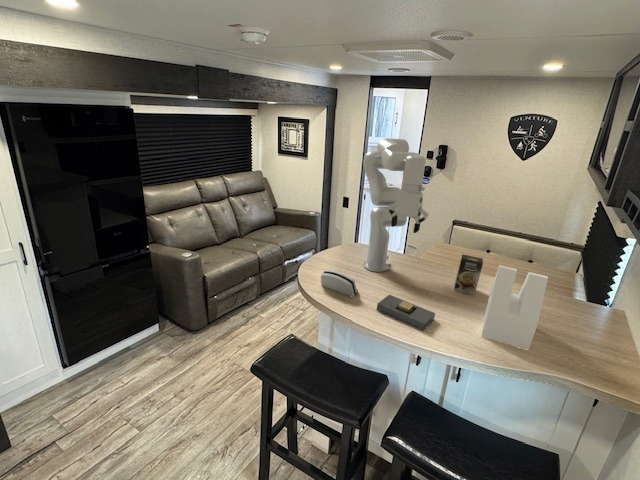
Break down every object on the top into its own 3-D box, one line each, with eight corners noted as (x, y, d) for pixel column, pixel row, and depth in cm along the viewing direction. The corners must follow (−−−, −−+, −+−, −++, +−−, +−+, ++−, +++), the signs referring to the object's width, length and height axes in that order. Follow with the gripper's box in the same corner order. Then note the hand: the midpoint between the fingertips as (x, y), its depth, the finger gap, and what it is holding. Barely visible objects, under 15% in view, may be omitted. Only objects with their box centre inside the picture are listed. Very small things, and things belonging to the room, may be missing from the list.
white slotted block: (484, 312, 145) (500, 257, 136) (526, 324, 139) (545, 267, 130) (481, 336, 129) (498, 276, 120) (528, 351, 123) (549, 288, 114)
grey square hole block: (388, 300, 149) (389, 294, 147) (433, 319, 137) (435, 313, 136) (376, 310, 141) (377, 303, 140) (423, 330, 130) (424, 324, 129)
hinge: (358, 292, 154) (357, 276, 147) (353, 299, 151) (352, 283, 144) (326, 280, 162) (324, 264, 156) (321, 287, 159) (318, 271, 153)
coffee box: (453, 290, 161) (461, 258, 155) (454, 284, 166) (461, 253, 160) (474, 295, 158) (483, 263, 152) (474, 289, 163) (482, 257, 157)
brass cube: (401, 310, 142) (403, 300, 141) (412, 314, 140) (413, 304, 138) (396, 315, 139) (398, 305, 137) (407, 319, 136) (409, 309, 135)
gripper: (436, 190, 135) (428, 232, 141) (395, 182, 145) (390, 221, 151) (428, 193, 129) (420, 237, 136) (386, 184, 139) (381, 225, 145)
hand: (404, 229), depth 143 cm, fingers open, 9 cm apart
